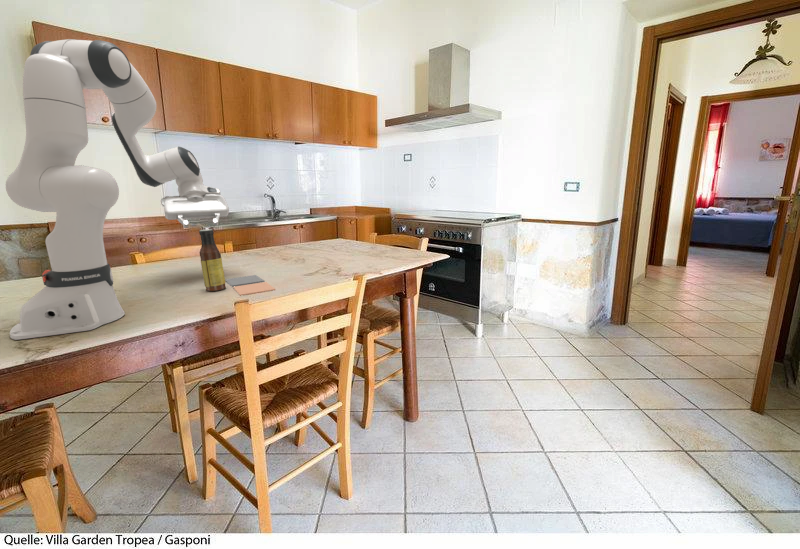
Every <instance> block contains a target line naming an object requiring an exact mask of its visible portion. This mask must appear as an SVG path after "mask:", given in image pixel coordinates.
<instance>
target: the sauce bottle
mask: <svg viewBox="0 0 800 549" xmlns="http://www.w3.org/2000/svg"><path fill="white" fill-rule="evenodd" d="M198 232H199V235H200V239H201V240H200V241H201V247H200V250H199V256H200V265H201V271H202V272H201V273H202V276H203V281H204V286H205V289H206V291H207V292H219V291H222V290H224V289H226V287H227V286H226V284H227V282H226V281H225V279H226V278H225V277H226V276H225V272H224V271H225V270H224V266H223V259H222V254H221V252H220V251H219V248H218V246H217V244H216V242H215V238H214V235H215V234H214V229H211V228H209V229H207V228H206V229H200V230H199V231H198Z"/></svg>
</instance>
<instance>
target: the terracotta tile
mask: <svg viewBox="0 0 800 549" xmlns="http://www.w3.org/2000/svg"><path fill="white" fill-rule="evenodd" d="M233 288H234V289H233ZM232 289H233V290H234V291H235V292H236V293H237V294H238V295H239V297H242V296H241V295H243V296H249V295H255V294H261V293H262V294H263V293H266V292H273V290H274V291H276V288H275V287H274V286H272V284H270V283H269V282H267V281H265V282H260V283H254V284H248V285H241V286H235V287H232Z"/></svg>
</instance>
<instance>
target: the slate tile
mask: <svg viewBox="0 0 800 549" xmlns="http://www.w3.org/2000/svg"><path fill="white" fill-rule="evenodd" d="M225 282H226V284H228V285H229V286H230V287H231V286H232V287H231V288H233V287H234V286H242V285H248V284H255V283H262V282H266V281H265V280H264V279H262V278H261V277H260V276H258V275H257V274H253V275H247V276H238V277H232V278H225Z"/></svg>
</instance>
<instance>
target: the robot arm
mask: <svg viewBox="0 0 800 549" xmlns="http://www.w3.org/2000/svg"><path fill="white" fill-rule="evenodd" d="M85 89H86V90H100V89H101V90H102V91H103V93H104V95H105V96H106V97H107V100H109V102H110V103H111V105H112V107H113V109H114V113H113V114H112V116H111V122H112V125H113V128H114V131H115V133H116V136H117V137H118V139H119V141H120V143H121V144H122V147H123V149H124V150H125V153H126V155H127V156H128V158H129V159H130V161H131V163H132V166H133V168H134V170H135V173H136V175H137V177H138V179H139V180H140V182H141V183H142V184H145V185H146V186H150V187H153V188H156V187H159V186H161V185H163V184H165V183H168V182H172V181H173V180H174V181H175V183H176V185H177V192H178V195H173V196H170V195H169V196H168V195H167V196H164V197H162V198H161V199H160V203H161V204H160V205H161V206H162V207H163V209H164V210H163V211H164V218H165V219H167V220H168V221H172V220H177V221H178V222H179V223H180V224H181V225H182V226H183V229H186V228H189V221H188V219H191V220H192V219H205V218H213V219H212V224H213V226H214V227H215V226H219V224H220V223H219V221H220V218H223V217H224V218H225V217H228V215H229V212H230V208H229V205H228V202H227V201H226V198H225V197H224V196H223V195H221V190H220V189H219V188H216V187H212V186H211V187H210V186H207V185H204V183H203V182H204V180H203V177H202V176H203V175H202V173H201V171H200V170H201V169H200V166H199V162H198V161H197V159H196V157H195V155H194V153H192V152H191V151H190V150H188V149H186V148H184V147H182V146H175V147H172V148H168V149H165V150H164V151H163V150H162V151H160V152H157V153H153V154H151V155H150V154H149V155H148V154H144V152H143V150H142V147H141V146H140V143H139V142H138V140H137V138H136V134H137V133H138V132H139V131H140V130H141V129H142V128H144V127H145V126H146V125H147V124H148V123H150V122H151V120H153V118H154V117H155V114H156V112H157V101H156V98H155V97H154V94H153V93H152V91H151V89H150V87H149V86H148V84H147V82H145V80H144V78H143V77H142V76H141V74H140V73H139V71H138V70H137V69H136V68H135V67H134V65H133V64H132V63H131V62H130V60H129V59H128V57H127V55H126V54H125V52H124V51H123V50H122V49H121V48H120V47H118V46H117V45H116V44H114V43H113V42H109V41H105V40H100V39H95V40H89V39H87V40H85V39H75V38H68V39H60V40H54V41H53V40H45V41H41V42H39V43H37V44H35V45H34V46H33V47H32V48H31V51H30V54H29V56H28V57H27V58H26V60H25V62H24V67H23V76H22V96H23V107H24V108H23V110H24V120H25V142H24V146H23V151H22V154H21V156H20V160H19V163H18V165H17V167H16V168H15V169H14V171H13V172H12V173H10V174H9V175H8V177H7V179H6V181H5V190H6V193H7V195H8V197H9V199H10V200H11V201H12V202H13V203H14V204H16V205H17V206H19V207H22V208H24V209H29V210H32V211H36V212H41V213H56V214H55V215H56V216H55V217H56V220H55V224H54V227H53V229H52V230H51V232H50V233H49V234H48V235H46V236H45V237H46V238H45V246H46V250H47V256H48V259H49V263H50V268H51V269H45V270H44V271H43V272H42V275H41V276H42V282H43V285H44V286H45V287H43V288H42V289H41V290H39V291H38V292H37V293H35V294H34V295H33V296H32V297H31V298H29V300H27V301H26V302H25V303H24V304H23V305H22V307H21V309H20V314H19V323H17V324H15V325H14V326H12V328H10V331H9V338H10V339H12V340H14V341H17V340H25V339H27V340H28V339H32V338H43V337H48V336H56V335H63V334H70V333H80V332H86V331H93V330H95V329H97V328H99V327H101V326H103V325H106V324H110V323H112V322H115V321H117V320H119V319H121V318H122V317H124V315H125V314H126V313H125V311H124V309H123V307H122V305H121V304H120V302H119V299H118V297H117V294H116V291H115V288H114V286H113V285H114V278H113V271H112V268H111V266H110V264H109V263H108V260H107V255H106V248H105V243H104V225H105V221H106V217H107V216H108V213H109V211H110V209H112V207H113V206H115V205H116V203H117V202H118V200H119V196H120V190H119V185H118V183H117V180H116V179H115V177H114V176H113V175H112V174H110V173H109V172H108V171H106V169H105V170H104V169H102V168H97V167H93V166H88V165H83V164H81V165H75V164H76V160H77V158H78V155H80V153H81V152H82V150H83V149H85V148H86V147H87V146H88V143H89V133H88V132H89V131H88V119H87V109H86V101H85V95H84V91H83V90H85Z"/></svg>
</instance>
